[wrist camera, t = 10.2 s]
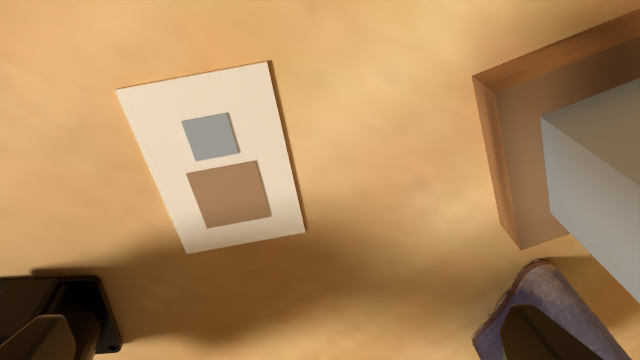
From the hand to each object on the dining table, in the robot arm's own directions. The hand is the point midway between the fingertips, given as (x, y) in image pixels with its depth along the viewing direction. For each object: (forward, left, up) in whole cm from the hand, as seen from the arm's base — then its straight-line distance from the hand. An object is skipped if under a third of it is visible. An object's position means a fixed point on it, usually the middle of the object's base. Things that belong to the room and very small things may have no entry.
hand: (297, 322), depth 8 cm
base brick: (-2, -16, -14) cm, 21 cm away
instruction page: (-4, +3, -13) cm, 14 cm away
